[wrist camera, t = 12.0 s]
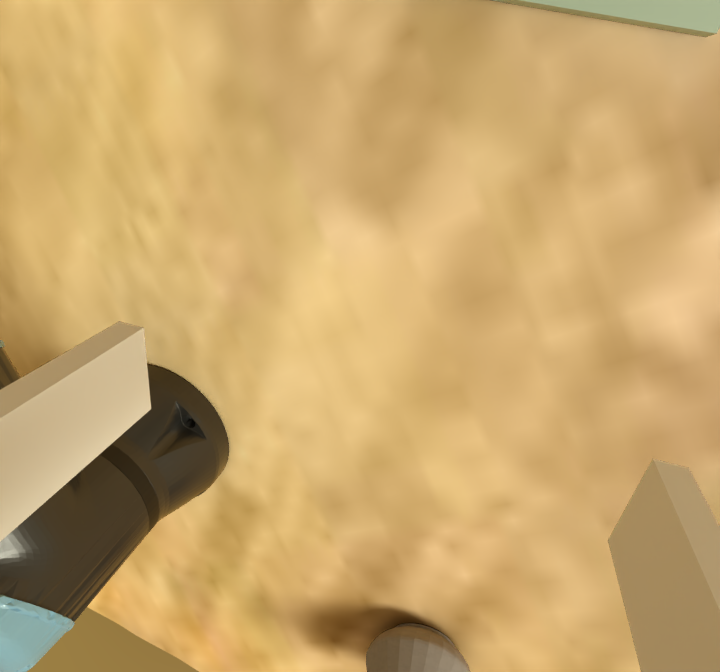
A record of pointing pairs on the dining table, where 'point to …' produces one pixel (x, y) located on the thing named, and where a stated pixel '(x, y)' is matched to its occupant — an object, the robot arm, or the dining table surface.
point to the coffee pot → (414, 651)
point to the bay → (642, 12)
